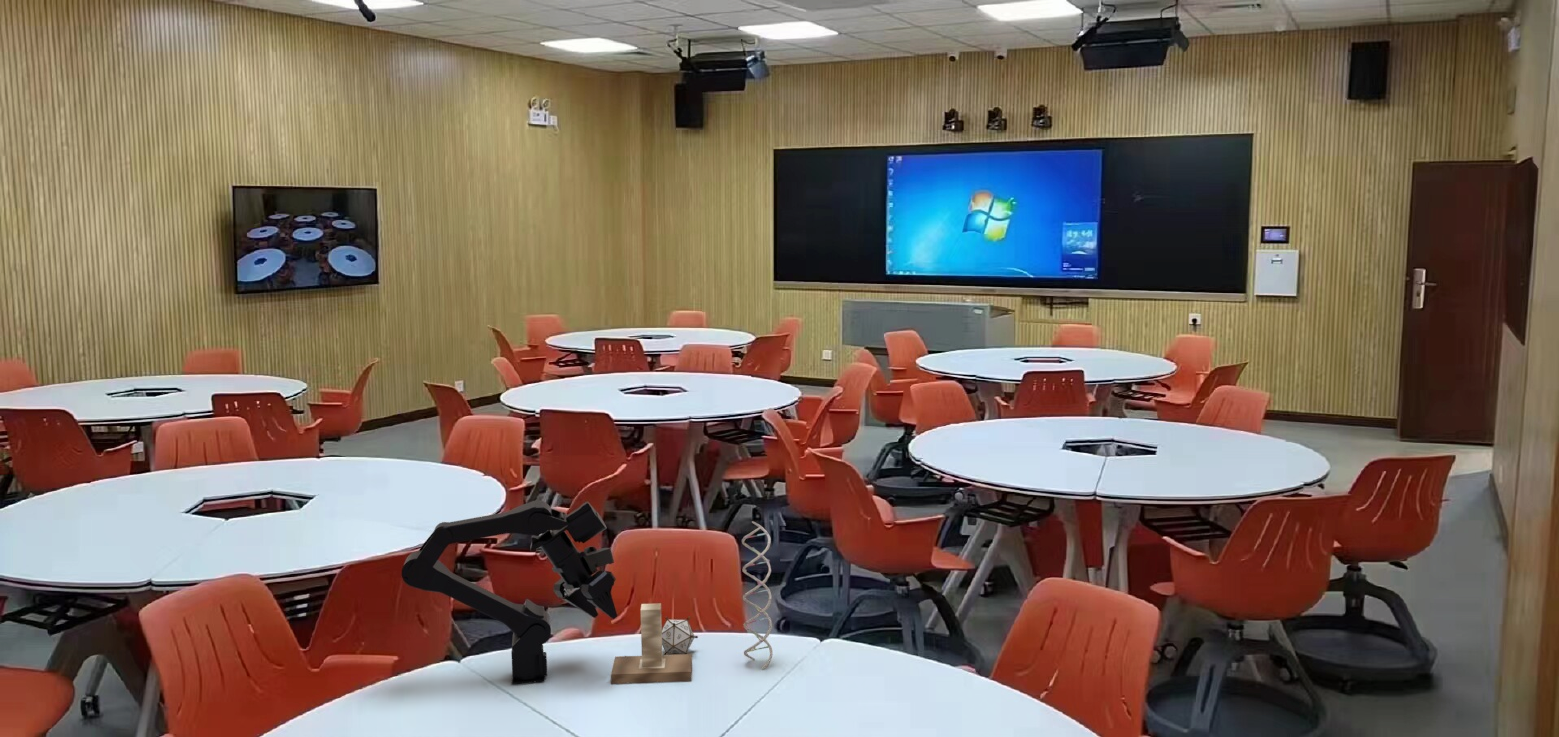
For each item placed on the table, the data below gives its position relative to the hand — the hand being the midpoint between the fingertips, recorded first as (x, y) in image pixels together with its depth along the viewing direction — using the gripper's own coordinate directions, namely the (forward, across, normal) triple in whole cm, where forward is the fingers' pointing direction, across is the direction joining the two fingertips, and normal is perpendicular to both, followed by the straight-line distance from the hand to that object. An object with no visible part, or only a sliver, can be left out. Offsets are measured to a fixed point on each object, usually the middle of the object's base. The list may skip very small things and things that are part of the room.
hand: (605, 617), depth 239 cm
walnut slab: (+14, -4, 0) cm, 15 cm away
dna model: (+26, -12, -17) cm, 33 cm away
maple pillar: (+13, -4, -1) cm, 13 cm away
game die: (+18, +3, -9) cm, 20 cm away
